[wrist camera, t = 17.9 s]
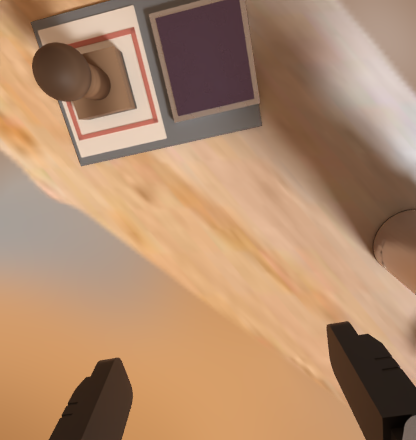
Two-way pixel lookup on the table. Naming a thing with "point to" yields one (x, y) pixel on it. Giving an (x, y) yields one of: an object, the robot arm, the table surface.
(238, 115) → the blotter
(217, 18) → the ink pad
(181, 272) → the table surface
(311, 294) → the table surface
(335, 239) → the table surface
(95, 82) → the stamp
